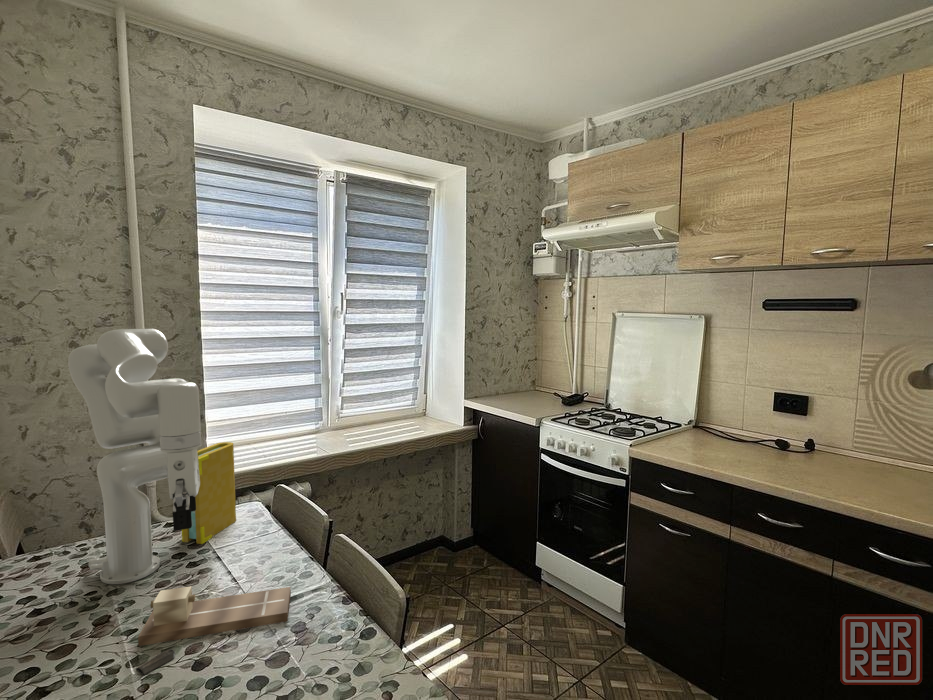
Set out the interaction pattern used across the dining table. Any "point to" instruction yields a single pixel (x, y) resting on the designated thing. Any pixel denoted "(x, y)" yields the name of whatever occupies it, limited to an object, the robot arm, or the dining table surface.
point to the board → (222, 616)
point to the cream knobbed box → (172, 605)
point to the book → (213, 493)
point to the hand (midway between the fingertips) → (185, 519)
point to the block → (156, 662)
